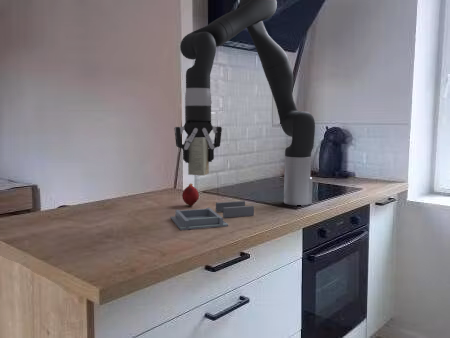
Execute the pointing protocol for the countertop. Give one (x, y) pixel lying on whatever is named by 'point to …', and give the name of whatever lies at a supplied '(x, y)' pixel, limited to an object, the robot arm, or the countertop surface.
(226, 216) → the slot
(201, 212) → the grey square tray
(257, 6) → the robot arm
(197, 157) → the box
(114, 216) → the countertop surface
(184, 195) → the onion
